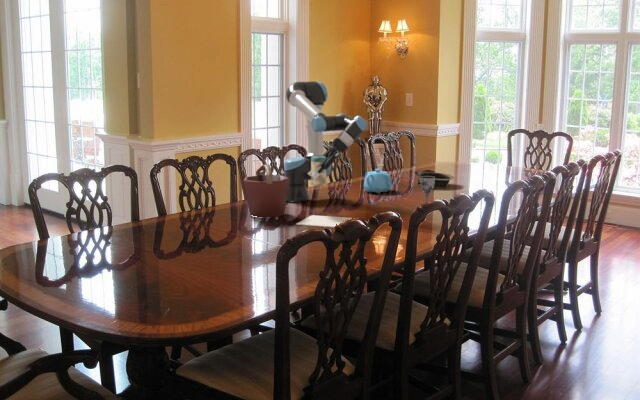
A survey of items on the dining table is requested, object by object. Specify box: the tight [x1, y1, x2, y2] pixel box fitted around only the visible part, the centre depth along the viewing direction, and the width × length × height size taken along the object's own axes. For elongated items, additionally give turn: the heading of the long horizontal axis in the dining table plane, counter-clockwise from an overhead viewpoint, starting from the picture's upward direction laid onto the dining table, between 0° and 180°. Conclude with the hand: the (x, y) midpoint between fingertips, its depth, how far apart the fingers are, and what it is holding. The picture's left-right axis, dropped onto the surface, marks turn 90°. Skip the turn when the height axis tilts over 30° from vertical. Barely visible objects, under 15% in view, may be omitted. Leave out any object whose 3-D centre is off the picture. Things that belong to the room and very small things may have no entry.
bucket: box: [243, 164, 289, 218], centre depth 339 cm, size 24×22×25 cm
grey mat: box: [295, 214, 359, 228], centre depth 324 cm, size 24×20×1 cm
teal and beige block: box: [310, 156, 327, 187], centre depth 340 cm, size 6×6×14 cm
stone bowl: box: [414, 169, 456, 189], centre depth 418 cm, size 25×25×9 cm
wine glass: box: [419, 176, 435, 203], centre depth 360 cm, size 8×8×15 cm
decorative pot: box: [363, 168, 393, 195], centre depth 401 cm, size 16×16×14 cm
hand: (311, 176), depth 339 cm, fingers closed on teal and beige block, 6 cm apart
